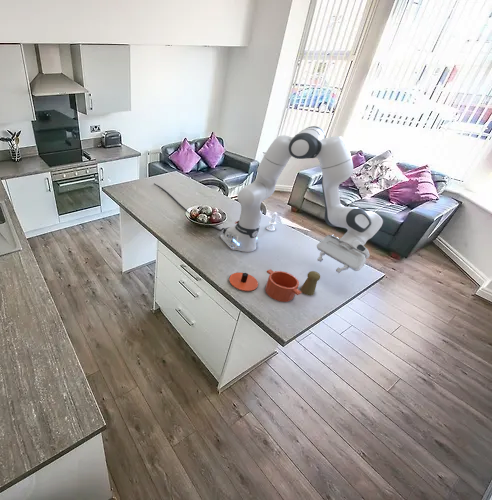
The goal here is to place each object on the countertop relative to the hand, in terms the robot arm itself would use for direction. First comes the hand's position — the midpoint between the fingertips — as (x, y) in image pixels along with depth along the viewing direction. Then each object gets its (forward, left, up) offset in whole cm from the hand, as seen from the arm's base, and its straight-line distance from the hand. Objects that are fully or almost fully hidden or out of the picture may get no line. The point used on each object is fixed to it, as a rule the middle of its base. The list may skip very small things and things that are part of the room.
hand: (327, 266), depth 134 cm
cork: (0, -8, -13) cm, 15 cm away
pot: (-5, -21, -12) cm, 25 cm away
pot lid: (-18, -32, -12) cm, 38 cm away
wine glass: (-52, +22, -13) cm, 58 cm away
